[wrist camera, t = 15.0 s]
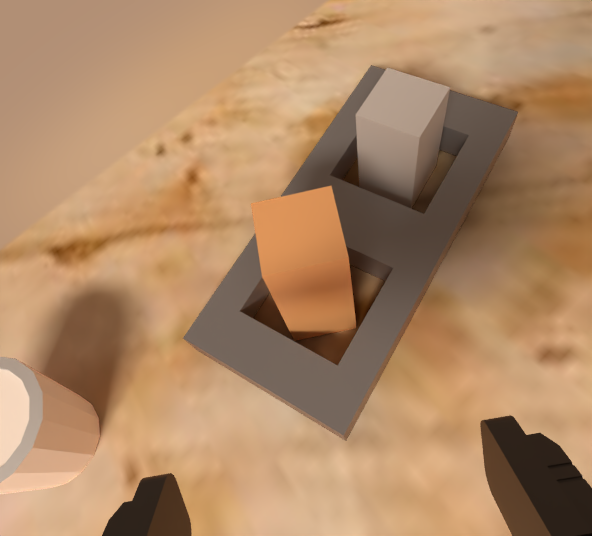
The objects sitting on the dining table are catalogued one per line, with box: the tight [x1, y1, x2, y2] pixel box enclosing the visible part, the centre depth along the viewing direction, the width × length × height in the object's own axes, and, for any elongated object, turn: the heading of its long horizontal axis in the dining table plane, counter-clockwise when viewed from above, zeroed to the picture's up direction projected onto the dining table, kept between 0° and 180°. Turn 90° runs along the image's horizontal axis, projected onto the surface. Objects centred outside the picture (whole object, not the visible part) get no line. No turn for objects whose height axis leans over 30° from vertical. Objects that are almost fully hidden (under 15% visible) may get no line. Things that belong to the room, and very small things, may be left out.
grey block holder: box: [183, 65, 518, 441], centre depth 31 cm, size 24×11×8 cm, turn 149°
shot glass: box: [0, 357, 100, 494], centre depth 28 cm, size 7×7×7 cm
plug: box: [251, 186, 357, 341], centre depth 28 cm, size 4×4×10 cm
